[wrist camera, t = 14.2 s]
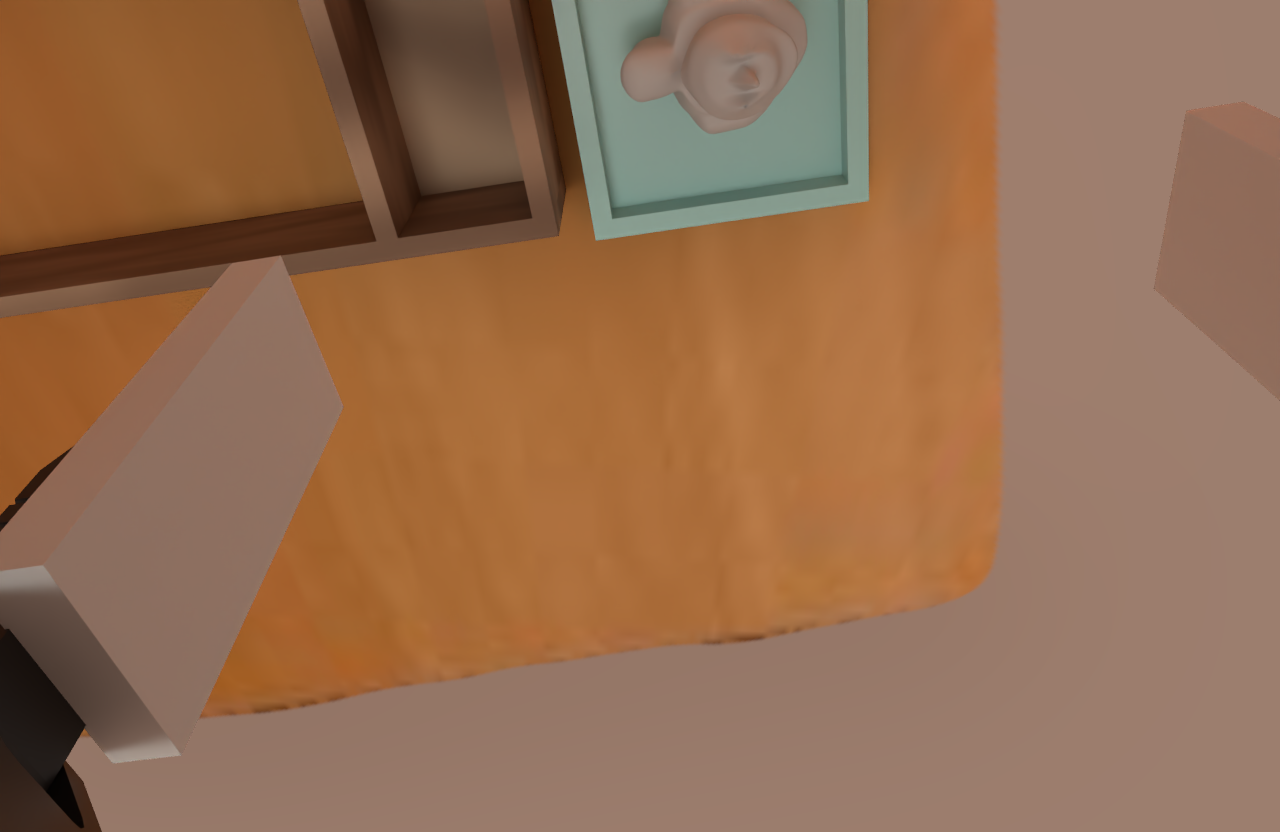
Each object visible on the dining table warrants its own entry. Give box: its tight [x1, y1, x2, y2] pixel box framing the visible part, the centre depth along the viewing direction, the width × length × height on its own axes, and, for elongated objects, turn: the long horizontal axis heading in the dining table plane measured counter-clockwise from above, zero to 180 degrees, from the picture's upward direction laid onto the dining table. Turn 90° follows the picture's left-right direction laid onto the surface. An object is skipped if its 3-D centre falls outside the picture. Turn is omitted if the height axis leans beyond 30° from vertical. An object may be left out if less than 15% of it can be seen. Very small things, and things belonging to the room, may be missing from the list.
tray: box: [552, 0, 869, 241], centre depth 33 cm, size 13×11×2 cm
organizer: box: [0, 0, 566, 318], centre depth 32 cm, size 14×28×5 cm, turn 98°
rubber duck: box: [620, 0, 807, 134], centre depth 30 cm, size 5×7×8 cm
